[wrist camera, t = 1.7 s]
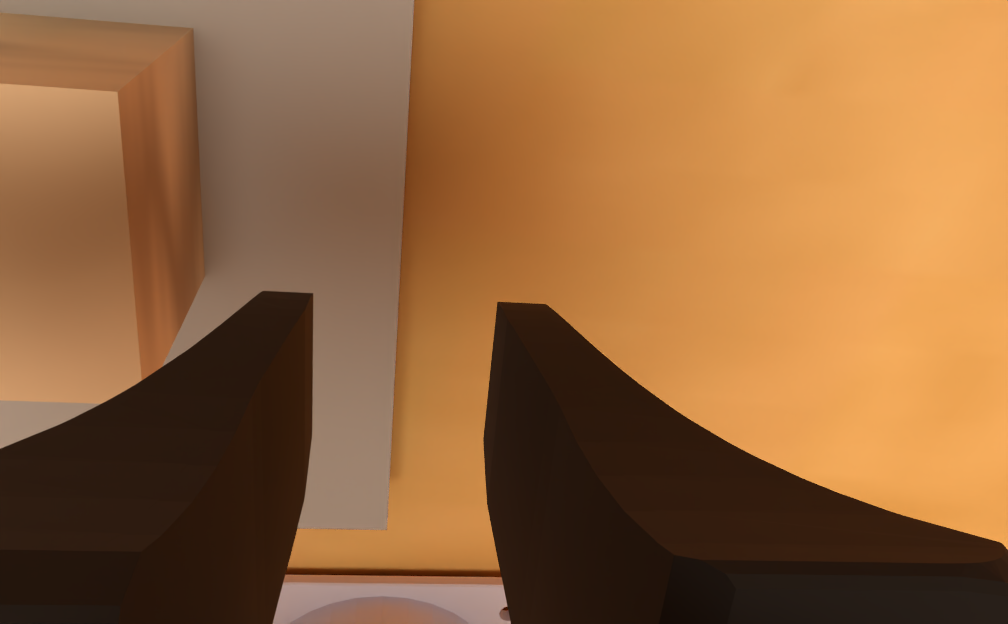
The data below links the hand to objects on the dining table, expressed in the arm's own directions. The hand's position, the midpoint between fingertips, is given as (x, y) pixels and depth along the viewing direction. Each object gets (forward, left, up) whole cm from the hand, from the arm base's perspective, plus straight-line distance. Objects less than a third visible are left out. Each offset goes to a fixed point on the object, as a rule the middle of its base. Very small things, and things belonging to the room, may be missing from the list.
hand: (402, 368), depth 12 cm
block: (0, +6, -8) cm, 10 cm away
